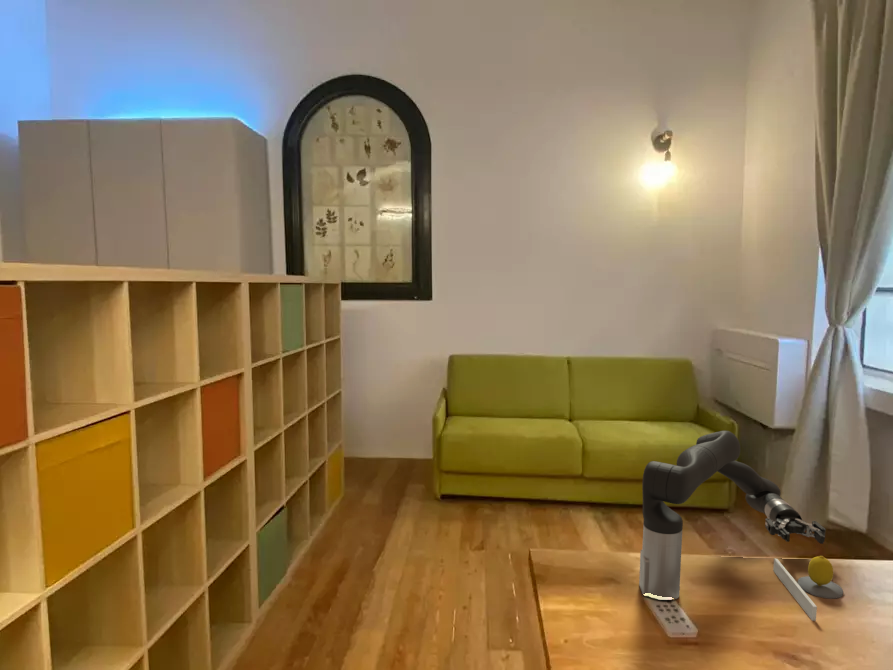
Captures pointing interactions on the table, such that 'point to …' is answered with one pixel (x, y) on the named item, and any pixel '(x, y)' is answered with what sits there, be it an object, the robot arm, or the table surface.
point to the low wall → (795, 590)
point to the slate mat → (820, 588)
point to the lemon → (820, 570)
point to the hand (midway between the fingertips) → (805, 539)
